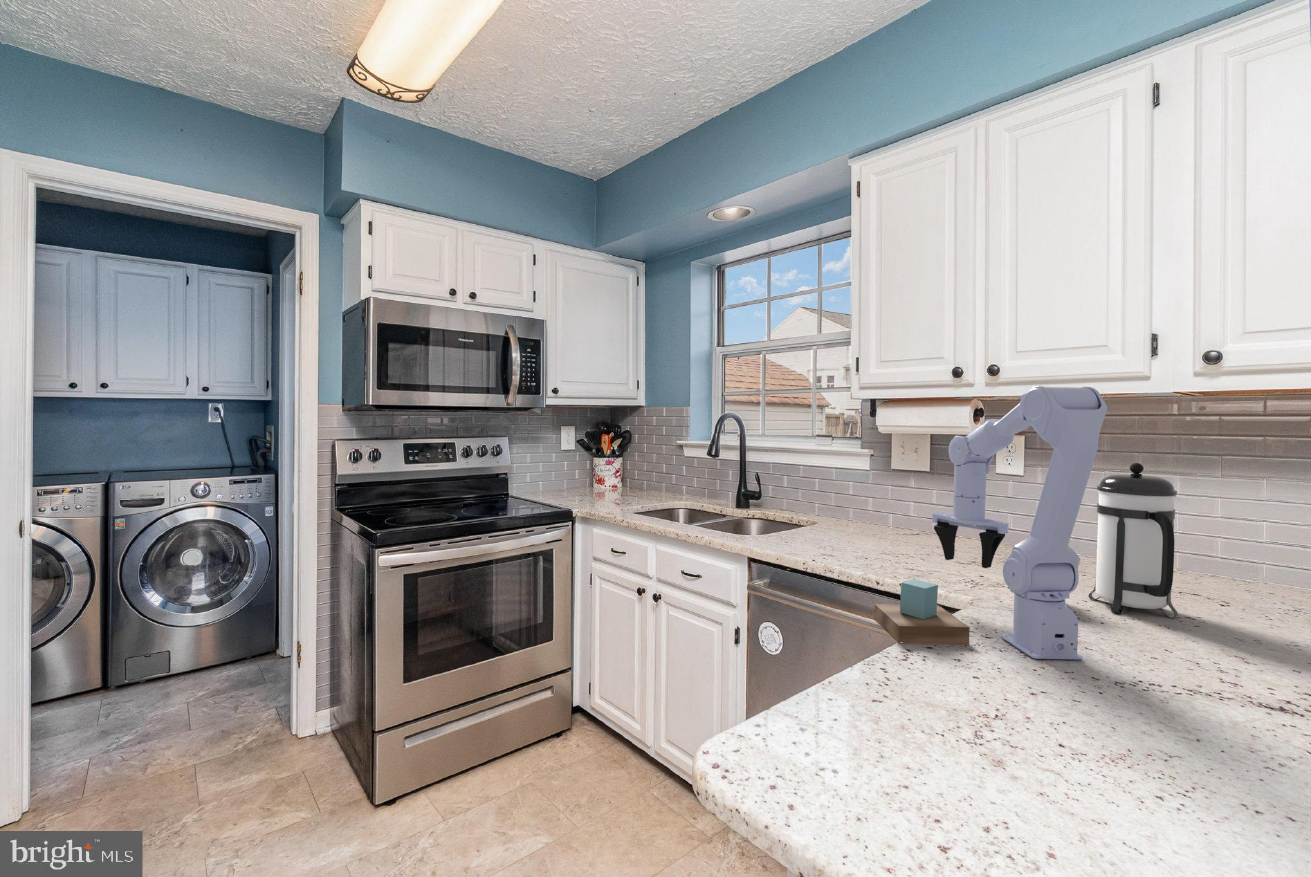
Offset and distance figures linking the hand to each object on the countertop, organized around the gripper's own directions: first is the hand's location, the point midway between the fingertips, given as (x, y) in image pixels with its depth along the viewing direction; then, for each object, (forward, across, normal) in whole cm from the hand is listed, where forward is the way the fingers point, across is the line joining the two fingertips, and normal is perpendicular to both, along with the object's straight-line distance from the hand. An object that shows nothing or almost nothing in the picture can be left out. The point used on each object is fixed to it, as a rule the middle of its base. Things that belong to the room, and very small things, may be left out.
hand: (967, 563), depth 121 cm
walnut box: (+10, -2, +20) cm, 22 cm away
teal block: (+6, -2, +20) cm, 21 cm away
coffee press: (+10, -19, -30) cm, 36 cm away
